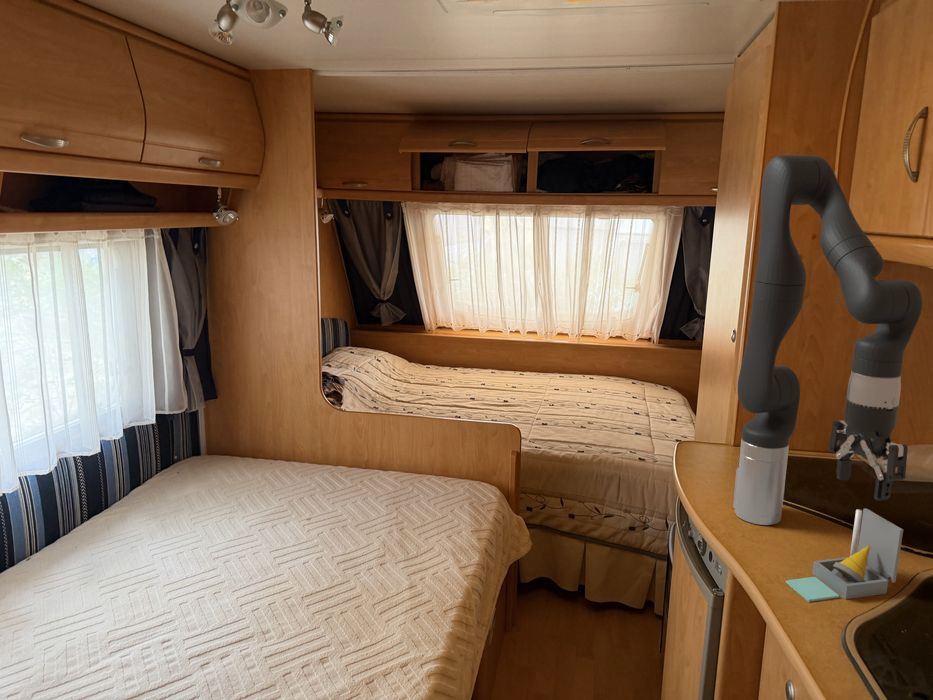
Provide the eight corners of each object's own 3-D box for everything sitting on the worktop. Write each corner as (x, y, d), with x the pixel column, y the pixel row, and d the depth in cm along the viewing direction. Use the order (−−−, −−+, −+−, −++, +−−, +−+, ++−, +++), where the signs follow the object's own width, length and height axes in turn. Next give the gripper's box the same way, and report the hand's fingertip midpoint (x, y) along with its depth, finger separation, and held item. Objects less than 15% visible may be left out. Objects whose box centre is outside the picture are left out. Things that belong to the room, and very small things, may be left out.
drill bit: (820, 580, 120) (851, 537, 122) (849, 601, 118) (880, 557, 119) (826, 577, 115) (859, 532, 117) (856, 598, 113) (889, 553, 114)
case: (804, 567, 123) (811, 508, 121) (852, 561, 125) (860, 503, 123) (845, 599, 114) (853, 535, 111) (896, 592, 115) (906, 529, 113)
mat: (785, 582, 119) (785, 580, 119) (815, 578, 120) (815, 576, 120) (808, 601, 113) (808, 599, 113) (839, 597, 114) (839, 595, 114)
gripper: (822, 389, 117) (813, 475, 120) (887, 413, 103) (874, 509, 107) (859, 386, 118) (849, 471, 122) (928, 410, 105) (914, 505, 108)
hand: (861, 489), depth 114 cm, fingers open, 8 cm apart
